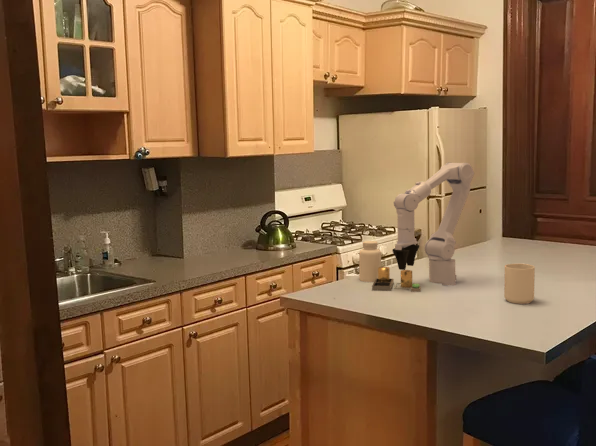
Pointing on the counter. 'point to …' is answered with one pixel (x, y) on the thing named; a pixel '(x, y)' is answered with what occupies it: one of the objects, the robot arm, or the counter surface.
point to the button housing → (415, 289)
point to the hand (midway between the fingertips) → (406, 267)
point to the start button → (415, 285)
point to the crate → (382, 285)
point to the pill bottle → (369, 261)
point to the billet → (406, 278)
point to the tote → (403, 288)
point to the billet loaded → (383, 274)
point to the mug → (519, 283)
